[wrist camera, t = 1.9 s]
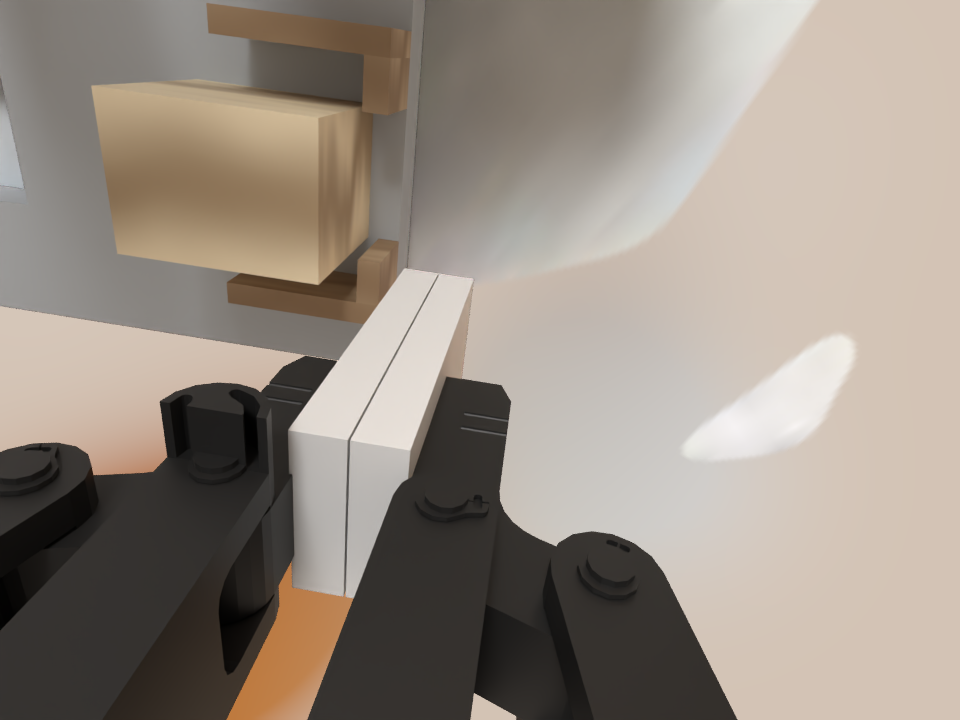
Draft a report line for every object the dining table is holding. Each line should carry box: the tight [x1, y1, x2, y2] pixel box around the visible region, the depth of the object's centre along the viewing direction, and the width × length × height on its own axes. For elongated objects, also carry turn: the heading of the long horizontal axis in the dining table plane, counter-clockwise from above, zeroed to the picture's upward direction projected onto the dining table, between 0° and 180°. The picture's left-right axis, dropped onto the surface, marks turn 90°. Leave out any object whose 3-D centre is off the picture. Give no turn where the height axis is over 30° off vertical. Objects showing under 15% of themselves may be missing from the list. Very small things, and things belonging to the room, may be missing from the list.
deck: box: [0, 0, 426, 360], centre depth 29 cm, size 22×29×3 cm
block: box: [91, 79, 373, 285], centre depth 25 cm, size 6×8×7 cm
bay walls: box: [206, 3, 412, 324], centre depth 27 cm, size 12×7×4 cm, turn 173°
